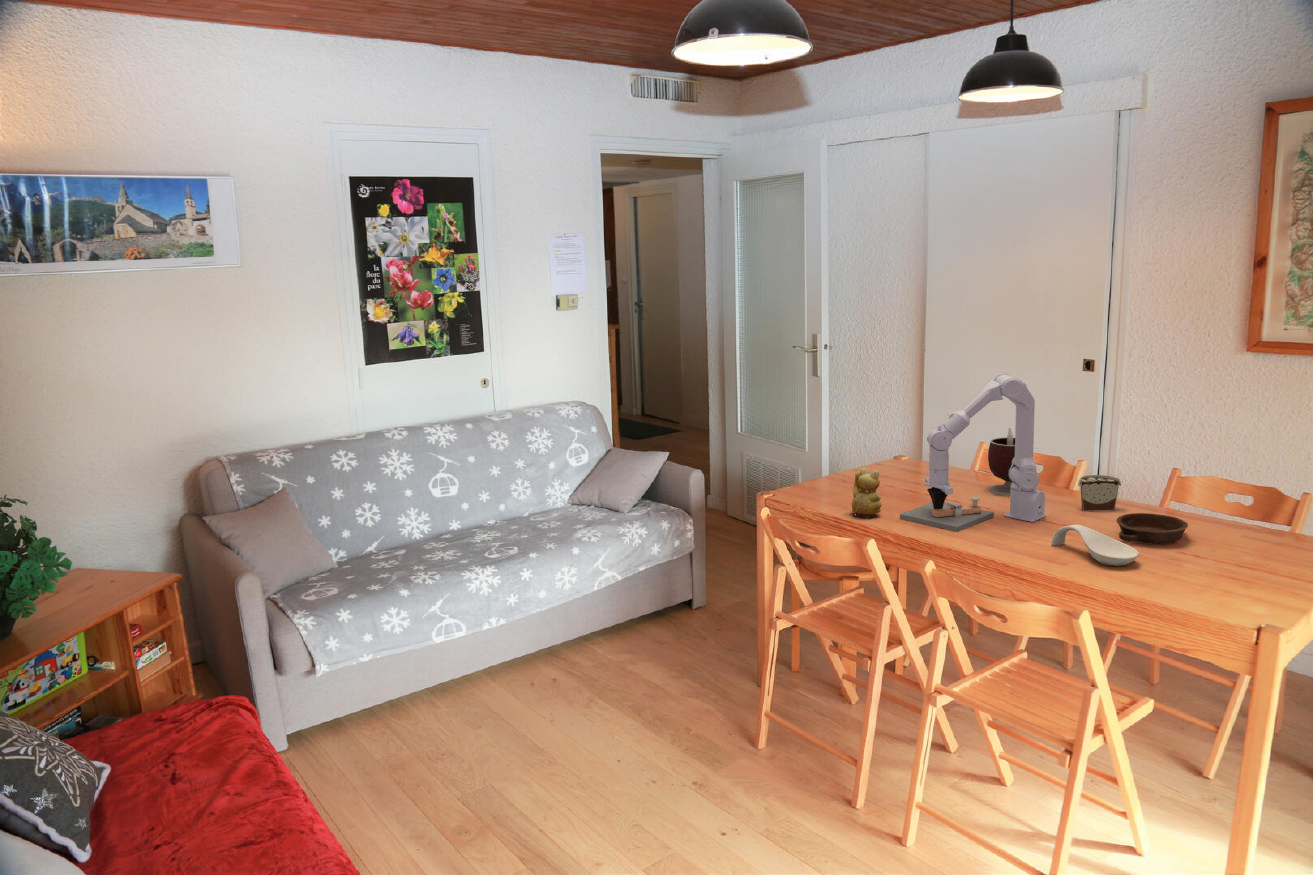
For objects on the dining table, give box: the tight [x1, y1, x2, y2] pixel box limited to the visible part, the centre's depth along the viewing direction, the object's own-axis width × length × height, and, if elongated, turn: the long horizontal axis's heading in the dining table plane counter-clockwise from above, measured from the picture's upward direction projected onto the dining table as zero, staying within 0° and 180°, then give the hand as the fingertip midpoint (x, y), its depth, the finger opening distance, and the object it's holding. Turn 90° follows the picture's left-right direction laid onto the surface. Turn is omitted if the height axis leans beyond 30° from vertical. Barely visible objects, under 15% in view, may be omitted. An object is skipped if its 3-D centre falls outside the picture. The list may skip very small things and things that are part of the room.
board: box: [899, 502, 995, 532], centre depth 288 cm, size 20×20×2 cm
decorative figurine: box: [851, 467, 883, 519], centre depth 293 cm, size 10×8×15 cm
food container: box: [1077, 474, 1122, 512], centre depth 290 cm, size 12×6×10 cm, turn 84°
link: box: [932, 496, 982, 517], centre depth 286 cm, size 15×4×4 cm, turn 100°
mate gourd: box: [987, 427, 1015, 497], centre depth 313 cm, size 16×14×20 cm
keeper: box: [946, 501, 963, 518], centre depth 285 cm, size 2×5×4 cm, turn 10°
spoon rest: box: [1050, 524, 1140, 567], centre depth 249 cm, size 24×12×7 cm, turn 27°
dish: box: [1116, 512, 1189, 545], centre depth 261 cm, size 18×22×5 cm
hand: (938, 511), depth 287 cm, fingers closed
